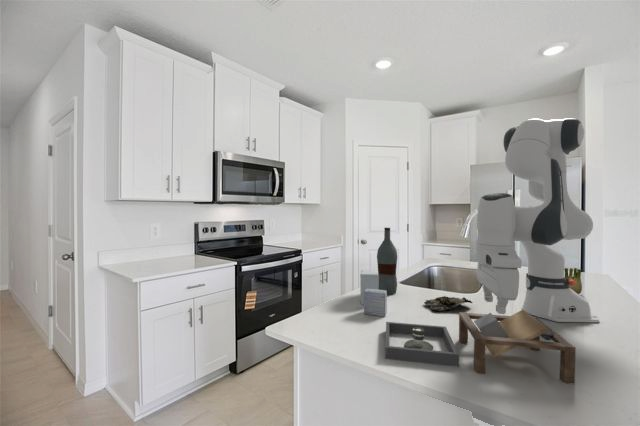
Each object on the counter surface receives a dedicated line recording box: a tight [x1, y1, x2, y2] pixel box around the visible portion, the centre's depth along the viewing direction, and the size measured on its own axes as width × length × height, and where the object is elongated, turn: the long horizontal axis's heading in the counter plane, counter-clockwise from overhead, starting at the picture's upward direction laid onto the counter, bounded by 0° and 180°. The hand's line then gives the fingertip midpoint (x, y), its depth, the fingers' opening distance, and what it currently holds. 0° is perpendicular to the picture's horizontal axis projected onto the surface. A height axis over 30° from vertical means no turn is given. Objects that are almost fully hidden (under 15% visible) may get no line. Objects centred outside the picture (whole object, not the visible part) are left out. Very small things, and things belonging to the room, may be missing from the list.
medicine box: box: [363, 289, 388, 317], centre depth 113 cm, size 8×4×9 cm, turn 71°
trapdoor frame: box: [458, 312, 577, 384], centre depth 80 cm, size 21×18×8 cm
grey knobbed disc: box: [404, 327, 434, 350], centre depth 87 cm, size 12×12×5 cm
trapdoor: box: [479, 309, 554, 358], centre depth 80 cm, size 15×13×3 cm
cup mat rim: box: [385, 321, 460, 367], centre depth 87 cm, size 18×18×3 cm
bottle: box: [376, 227, 398, 296], centre depth 141 cm, size 9×9×30 cm
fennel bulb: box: [564, 267, 583, 295], centre depth 139 cm, size 6×5×12 cm
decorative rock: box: [423, 295, 474, 312], centre depth 122 cm, size 19×6×15 cm
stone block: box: [473, 312, 508, 345], centre depth 81 cm, size 5×5×5 cm
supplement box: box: [359, 270, 379, 305], centre depth 127 cm, size 7×7×13 cm
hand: (494, 306), depth 81 cm, fingers open, 8 cm apart
